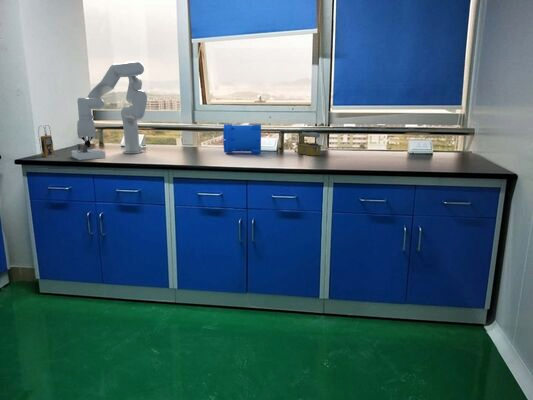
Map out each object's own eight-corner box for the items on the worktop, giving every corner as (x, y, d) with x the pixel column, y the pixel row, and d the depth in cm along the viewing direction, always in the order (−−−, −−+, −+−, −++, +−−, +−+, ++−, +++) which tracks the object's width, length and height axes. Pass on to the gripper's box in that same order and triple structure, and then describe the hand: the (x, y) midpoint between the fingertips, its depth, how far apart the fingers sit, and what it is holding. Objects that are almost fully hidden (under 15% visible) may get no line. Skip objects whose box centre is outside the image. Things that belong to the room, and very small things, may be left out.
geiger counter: (312, 156, 291) (313, 133, 287) (288, 152, 311) (288, 130, 308) (322, 155, 296) (323, 132, 292) (298, 151, 316) (298, 129, 313)
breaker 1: (81, 149, 286) (80, 143, 285) (82, 149, 284) (81, 144, 284) (77, 149, 285) (76, 144, 284) (78, 150, 283) (77, 144, 282)
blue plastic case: (223, 154, 298) (222, 125, 293) (226, 150, 319) (225, 123, 314) (260, 154, 298) (260, 125, 293) (260, 150, 319) (260, 123, 314)
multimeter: (52, 158, 279) (49, 126, 274) (38, 157, 281) (34, 125, 276) (67, 155, 293) (64, 124, 288) (53, 154, 295) (50, 124, 290)
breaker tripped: (84, 150, 282) (84, 144, 281) (85, 150, 280) (85, 144, 279) (80, 150, 281) (80, 144, 280) (81, 150, 279) (81, 144, 278)
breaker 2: (86, 151, 277) (85, 145, 276) (87, 151, 275) (87, 146, 274) (82, 151, 276) (81, 145, 275) (83, 152, 274) (83, 146, 273)
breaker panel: (97, 154, 294) (96, 148, 293) (105, 157, 282) (104, 151, 281) (72, 156, 285) (71, 150, 284) (79, 159, 272) (78, 153, 271)
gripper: (95, 117, 285) (98, 146, 289) (71, 118, 276) (73, 147, 280) (99, 118, 279) (101, 147, 283) (74, 118, 270) (77, 148, 274)
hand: (87, 147), depth 282 cm, fingers closed
